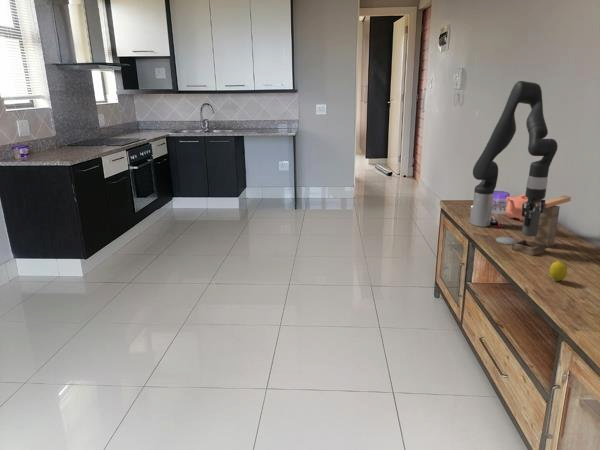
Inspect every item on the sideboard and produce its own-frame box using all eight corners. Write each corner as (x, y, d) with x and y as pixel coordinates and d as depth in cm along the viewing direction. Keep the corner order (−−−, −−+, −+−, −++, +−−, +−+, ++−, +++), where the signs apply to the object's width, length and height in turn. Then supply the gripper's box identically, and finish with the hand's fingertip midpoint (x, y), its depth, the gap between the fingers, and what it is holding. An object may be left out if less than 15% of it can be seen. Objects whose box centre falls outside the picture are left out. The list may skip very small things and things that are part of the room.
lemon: (544, 278, 166) (548, 258, 163) (558, 277, 166) (562, 257, 164) (554, 284, 160) (557, 264, 158) (568, 283, 161) (572, 263, 158)
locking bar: (539, 206, 194) (539, 202, 194) (563, 199, 205) (564, 195, 205) (546, 208, 192) (546, 203, 191) (570, 201, 203) (571, 196, 202)
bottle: (538, 237, 189) (543, 203, 185) (523, 236, 190) (528, 202, 186) (534, 232, 195) (539, 199, 190) (520, 232, 196) (525, 199, 191)
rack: (511, 249, 196) (516, 210, 190) (536, 240, 207) (542, 203, 201) (532, 255, 188) (538, 215, 183) (557, 245, 199) (563, 207, 194)
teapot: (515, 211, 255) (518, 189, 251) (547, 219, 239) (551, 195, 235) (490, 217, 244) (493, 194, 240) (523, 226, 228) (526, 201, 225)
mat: (491, 240, 207) (491, 239, 207) (504, 236, 213) (504, 235, 213) (511, 246, 199) (511, 245, 199) (524, 242, 205) (524, 241, 205)
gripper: (537, 182, 193) (531, 219, 198) (518, 187, 185) (513, 225, 190) (554, 185, 187) (548, 223, 192) (535, 190, 179) (529, 229, 184)
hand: (530, 224), depth 191 cm, fingers closed on bottle, 6 cm apart
